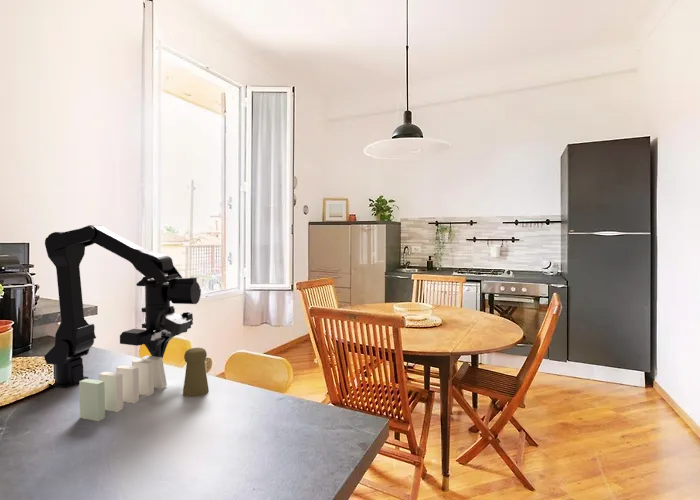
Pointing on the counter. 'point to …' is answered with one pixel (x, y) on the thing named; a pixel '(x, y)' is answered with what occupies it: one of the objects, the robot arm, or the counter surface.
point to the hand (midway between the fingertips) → (158, 362)
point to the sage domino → (92, 399)
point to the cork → (195, 373)
